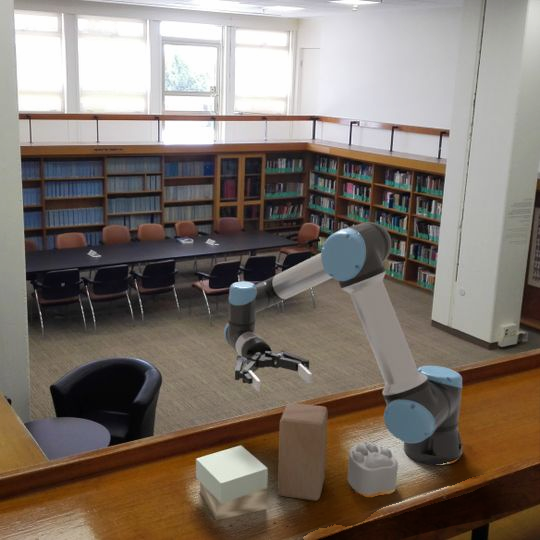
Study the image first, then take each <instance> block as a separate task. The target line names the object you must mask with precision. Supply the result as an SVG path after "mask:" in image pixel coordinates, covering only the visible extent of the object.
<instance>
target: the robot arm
mask: <svg viewBox="0 0 540 540" xmlns="http://www.w3.org/2000/svg"><path fill="white" fill-rule="evenodd" d="M391 239H392V238H391V235H390V234H389V232H388V231H387V230H386V228H385V227H384V226H382V225H381V224H380V223H376V222H371V221H364V222H361V223H358V224H356V225H351V226H348V227H345V228H342V229H340V230H338V231H335V232H334V233H332V234H330V235H329V236H328V237H327V238H326V240H324V243H323V245H322V248H321V252H320V253H318V254H316V255H314V256H312V257H310V258H307V259H305V260H304V261H302V262H299V263H298V264H295V265H294V266H292V267H290V268H287V269H285V270H283V271H281V272H279V273H277V274H276V275H274V276H271V277H269V278H268V279H266V280H263V281H261V282H258V283H256V284H255V283H253V282H251V281H237V282H234V283H232V284H231V285H230V286H229V293H228V298H227V299H228V323H226V325H225V326H224V328H223V337H224V338H225V340H226V342H227V344H228V345H229V346H230V347H231V348H232V349H233V350H234V351H235V352H236V353H237V354H238V355H236V366H235V369H234V380H235V381H239V380H240V379H242V383H243V384H248V385H251V386H252V388H254V390H256V392H261V383H262V382H261V380H260V379H259V377H258V376H257V375H256V374H255V373H254V372H257V371H258V370H259V369H264V368H274V369H279V368H282V369H284V370H285V369H286V370H289V371H293V372H297V375H298V376H299V377H301V378H302V379H303V381H305V382H306V383H307V385H311V384H312V379H313V377H312V376H313V373H312V372H311V370H310V360H308V359H306V358H303V357H300V356H297V355H295V354H292V353H289V352H287V351H286V350H283V349H281V350H280V353H276V352H274V351H273V350H272V349H271V347H270V345H269V344H268V343H267V342H266V341H265V340H264V339H263V338H262V337H261V336H259V334H257V332H256V315H257V313H259V312H261V311H263V310H265V309H267V308H271V307H272V306H275V305H278V304H279V303H281V302H283V301H286V300H287V299H289V298H292V297H294V296H296V295H298V294H301V293H302V292H304V291H306V290H307V291H308V290H310V289H312V288H314V287H315V286H318V285H320V284H322V283H324V282H326V281H327V282H328V281H329V280H331V279H334V280H335V281H336V280H337V282H338V284H339V287H340V290H342V291H344V292H347V293H348V294H349V295H350V297H351V301H352V302H353V305H354V308H355V311H356V313H357V315H358V318H359V321H360V323H361V325H362V328H363V330H364V333H365V336H366V339H367V340H368V343H369V345H370V346H369V347H370V348H371V351H372V355H374V358H375V361H376V364H377V367H378V368H379V371H380V374H381V377H382V379H383V381H384V388H382V389H383V390H382V396H383V398H384V401H385V403H386V407H385V409H384V412H383V422H384V425H385V427H386V429H387V430H388V431H389V433H390V434H391V435H392V436H393V437H395V438H396V439H397V440H400V441H402V442H403V451H404V453H405V454H406V455H407V456H408V457H409V458H411V459H413V460H414V461H416V462H418V463H421V464H424V465H429V466H437V465H436V464H443V463H447V462H451V461H454V460H456V459H458V458H460V457H461V455H462V456H463V443H462V440H461V435H460V431H459V427H458V426H459V418H460V411H461V410H460V407H461V399H462V392H463V391H462V389H463V376H462V375H461V374H460V373H459V372H458V371H455V370H453V369H451V368H448V367H444V366H438V365H423V366H419V367H417V365H416V362H415V360H414V357H413V355H412V351H411V349H410V347H409V344H408V342H407V340H406V337H405V334H404V332H403V329H402V327H401V323H400V321H399V318H398V317H397V314H396V311H395V309H394V307H393V304H392V302H391V298H390V296H389V294H388V290H387V289H386V286H385V283H384V277H385V275H386V274H387V273H386V272H387V271H386V269H385V266H384V262H385V261H386V260H387V259H388V257H389V256H390V254H391V251H392V240H391ZM246 364H247V365H246ZM245 365H246V366H245ZM461 458H462V457H461ZM430 464H431V465H430Z"/></svg>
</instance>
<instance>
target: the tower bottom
mask: <svg viewBox="0 0 540 540" xmlns="http://www.w3.org/2000/svg"><path fill="white" fill-rule="evenodd" d="M199 492H200V493H201V496H202V498H203V499H204V501H205V503H206V505H207V506H208V508H209V510H210V512H211V514H212V516H213V517H214V519H215V520H216V521H218V520H223V519H227V518H232V517H238V516H242V515H246V514H250V513H254V512H257V511H263V510H267V492H268V491H267V488H265V489H262V490H259V491H256V492H253V493H251V494H248V495H245V496H242V497H239V498H236V499H233V500H230V501H227V502H224V503H220V502H219V501H218V500H217V499H216V498H215V497H214V496H213V495H212V494H211V493H210V492H209V491H208V490H207V489H206V487H205V486H204V485H203V484H202V483H201V482H200V481H199Z"/></svg>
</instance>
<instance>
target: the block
mask: <svg viewBox="0 0 540 540" xmlns="http://www.w3.org/2000/svg"><path fill="white" fill-rule="evenodd" d="M328 413H329V411H328V409H327V407H325V406H323V405H313V404H305V403H304V404H303V403H295V402H289V403H287V404H286V405H285V409H284V411H283V412H282V415H281V417H280V420H279V429H278V430H279V431H278V432H279V433H278V434H279V437H278V467H277V468H278V470H277V493H278V495H279V496H280V497H287V498H293V499H295V498H296V499H299V500H301V499H302V500H308V501H315V502H316V501H318V500H319V499H320V497H321V494H322V489H323V486H324V481H325V472H326V471H325V470H326V455H327V454H326V453H327V450H326V449H327V434H328V432H327V431H328V428H327V427H328V415H329V414H328Z"/></svg>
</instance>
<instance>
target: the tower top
mask: <svg viewBox="0 0 540 540" xmlns="http://www.w3.org/2000/svg"><path fill="white" fill-rule="evenodd" d="M195 478H196V480H198V482H199V483H200V482H201V483H202V484H203V485H204V486H205V487H206V489H207V490H208V491H209V492H210V493H211V494H212V495H213V496H214V497H215V498H216V499H217V500H218V501H219V502H220V503H224V502H227V501H230V500H233V499H236V498H239V497H242V496H245V495H248V494H251V493H253V492H256V491H259V490H262V489H268V467H267V466H266V465H265V464H264V463H262V462H261V461H260V460H259V459H258V458H256V457H255V456H254V455H253V454H252V453H251V452H249V451H248V450H247V449H246V448H245V447H244V446H242V445H241V444H240V445H237V446H234V447H231V448H228V449H224V450H219V451H217V452H214V453H210V454H206V455H203V456H201V457H198V458H195Z"/></svg>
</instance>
